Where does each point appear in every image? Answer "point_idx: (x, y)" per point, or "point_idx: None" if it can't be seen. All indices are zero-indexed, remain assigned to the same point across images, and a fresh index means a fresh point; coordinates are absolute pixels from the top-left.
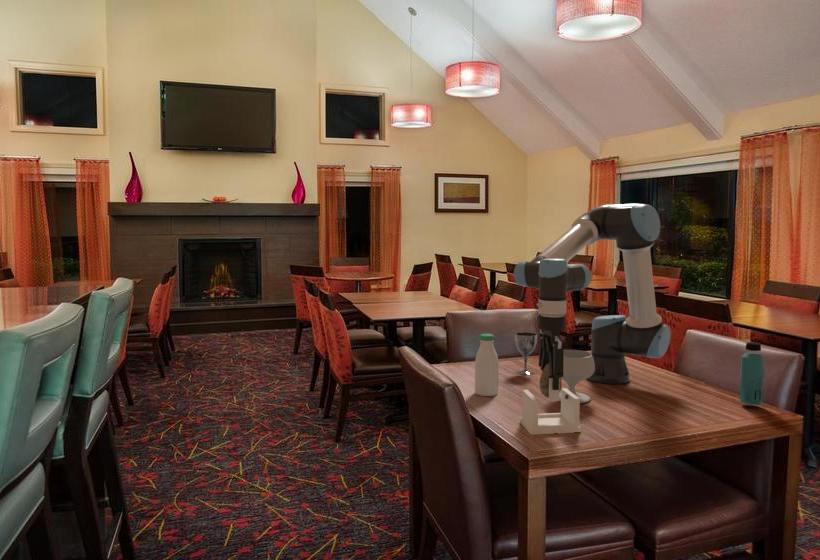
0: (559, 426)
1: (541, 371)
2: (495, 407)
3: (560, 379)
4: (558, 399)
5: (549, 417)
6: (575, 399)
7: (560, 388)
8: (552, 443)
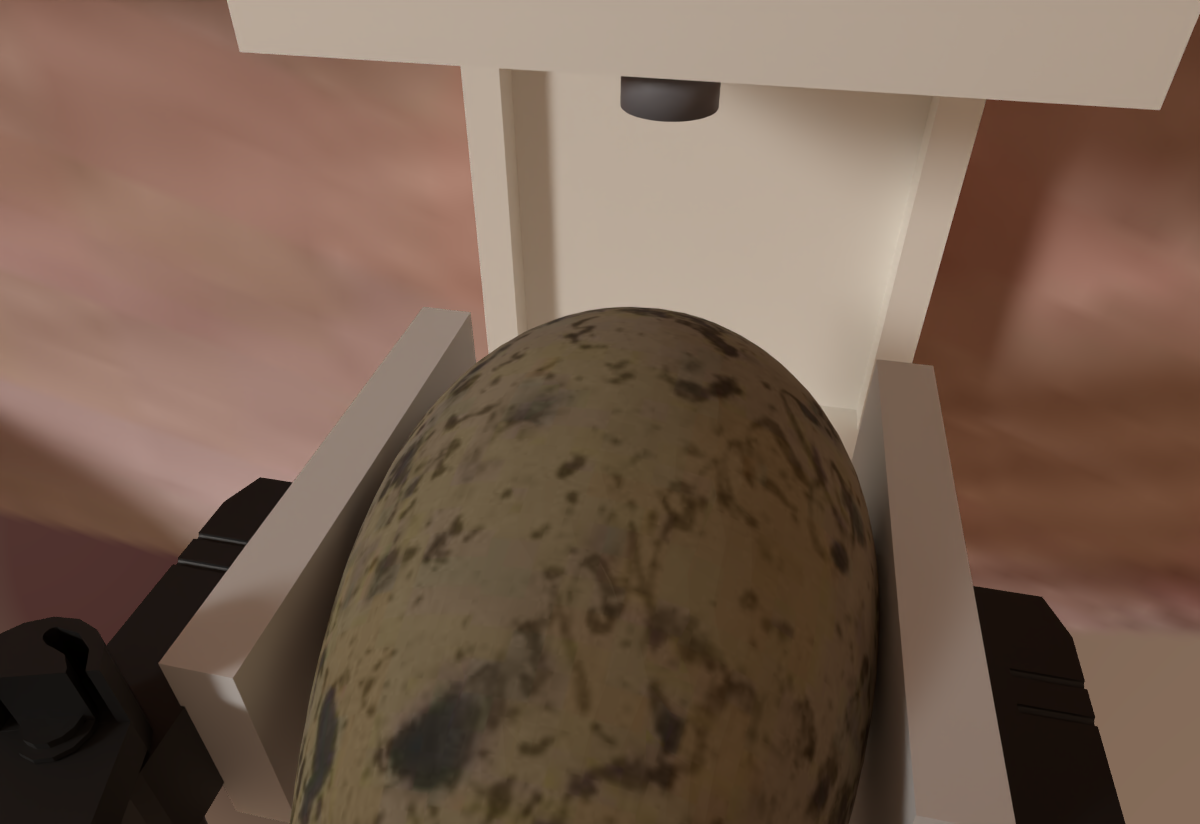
0: (956, 190)
1: (250, 809)
2: (135, 426)
3: (783, 609)
4: (934, 398)
5: (536, 138)
6: (1167, 73)
7: (823, 438)
8: (1196, 353)
